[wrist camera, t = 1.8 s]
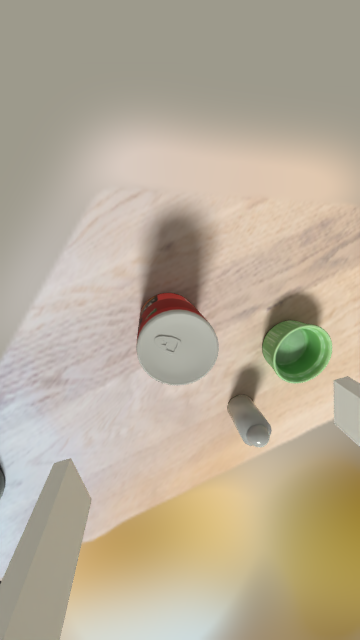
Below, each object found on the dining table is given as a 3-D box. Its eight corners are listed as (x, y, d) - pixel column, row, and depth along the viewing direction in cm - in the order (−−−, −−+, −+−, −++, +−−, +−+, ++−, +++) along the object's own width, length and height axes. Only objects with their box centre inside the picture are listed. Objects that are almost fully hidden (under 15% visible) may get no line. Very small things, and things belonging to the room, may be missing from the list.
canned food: (143, 287, 30) (142, 305, 19) (200, 296, 31) (228, 317, 21) (135, 340, 32) (131, 383, 21) (190, 347, 33) (210, 389, 23)
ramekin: (321, 330, 36) (344, 340, 32) (291, 376, 37) (309, 391, 33) (278, 307, 34) (297, 314, 29) (248, 357, 35) (261, 371, 31)
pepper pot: (229, 420, 38) (249, 460, 31) (225, 399, 37) (245, 435, 29) (253, 412, 38) (279, 450, 31) (250, 391, 37) (276, 425, 30)
